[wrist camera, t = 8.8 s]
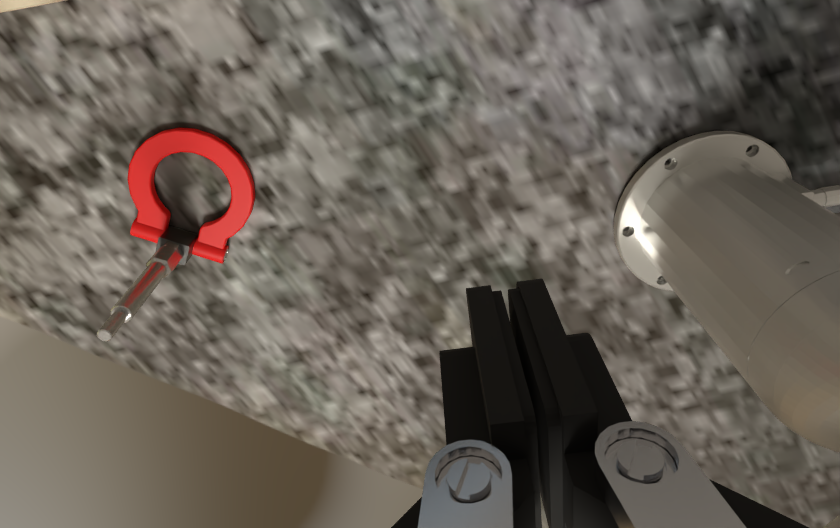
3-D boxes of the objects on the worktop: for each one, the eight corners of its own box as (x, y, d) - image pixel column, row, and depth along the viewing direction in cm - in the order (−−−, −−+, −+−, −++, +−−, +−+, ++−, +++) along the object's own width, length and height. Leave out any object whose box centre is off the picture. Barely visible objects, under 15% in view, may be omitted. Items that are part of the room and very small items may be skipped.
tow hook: (145, 107, 36) (124, 226, 40) (32, 164, 25) (17, 324, 28) (269, 152, 38) (238, 262, 42) (218, 225, 26) (181, 368, 30)
